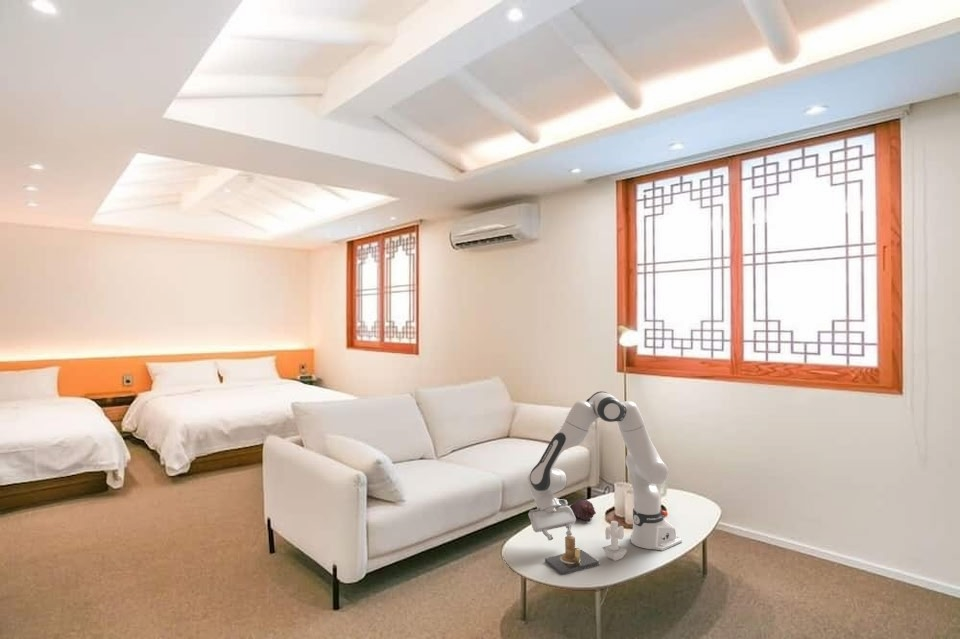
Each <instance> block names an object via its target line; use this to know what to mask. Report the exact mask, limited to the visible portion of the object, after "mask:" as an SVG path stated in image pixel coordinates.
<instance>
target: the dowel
mask: <svg viewBox="0 0 960 639" xmlns="http://www.w3.org/2000/svg"><path fill="white" fill-rule="evenodd" d="M580 550H581V549H580V548H579V547H575V565H580Z"/></svg>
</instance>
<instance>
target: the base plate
mask: <svg viewBox="0 0 960 639" xmlns="http://www.w3.org/2000/svg"><path fill="white" fill-rule="evenodd" d="M544 563H546V564H547V565H548V566H549V567H551V568H552V569H553V570H554V571H555V572H557V573H558V574H560V576H563V575H566V574H570V573H575V572H578V571H582V570H585V569H590V568H593V567H597V566H599V565H600V560H598V559H597V558H594V557H593V556H592V555H590V554H589V553H587V552H585V550H583V549H580V565H575V562H574V563H569V562H565V561H563V560H562V554H557V555H554V556H550V557H546V558H544Z"/></svg>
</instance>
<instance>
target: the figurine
mask: <svg viewBox="0 0 960 639" xmlns="http://www.w3.org/2000/svg"><path fill="white" fill-rule="evenodd" d="M624 528H625V527H624V526H623V525H619V522H618V521H617V520H611V521H610V526H606V527H605V539H606V540H608V541H609V540H611V541H610V544H609V545H605V546H602V550H603V551H604V553H605V555H606V557H607V558H609V559H611V560H613V561H615V562H616V561H618V560H621V559H623V558H624V557H625V555H626V553H627V551H628V549H627V548H625V547H623V546H621V545H619V540H623V539H624V536H625V535H624V534H625V530H624Z"/></svg>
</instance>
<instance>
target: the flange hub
mask: <svg viewBox="0 0 960 639" xmlns="http://www.w3.org/2000/svg"><path fill="white" fill-rule="evenodd" d="M564 542H565V544H564V545H565V549H564V550H565V552H564V553H561V555H562V560H563V561H565V562H569V563H574V562H575V548H576V537H575V536H573V535H571V536H567V535H566V536H565V537H564Z"/></svg>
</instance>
